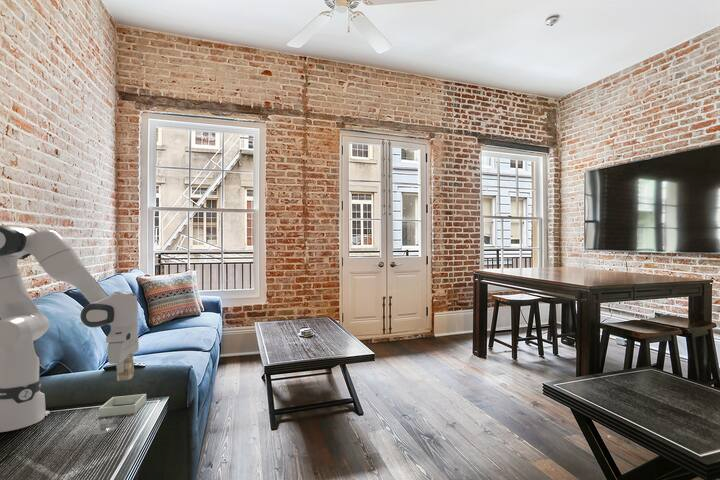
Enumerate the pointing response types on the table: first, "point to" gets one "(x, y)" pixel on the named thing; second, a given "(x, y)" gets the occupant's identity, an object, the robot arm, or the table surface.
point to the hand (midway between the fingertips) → (124, 369)
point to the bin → (121, 410)
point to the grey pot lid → (103, 427)
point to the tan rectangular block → (126, 369)
